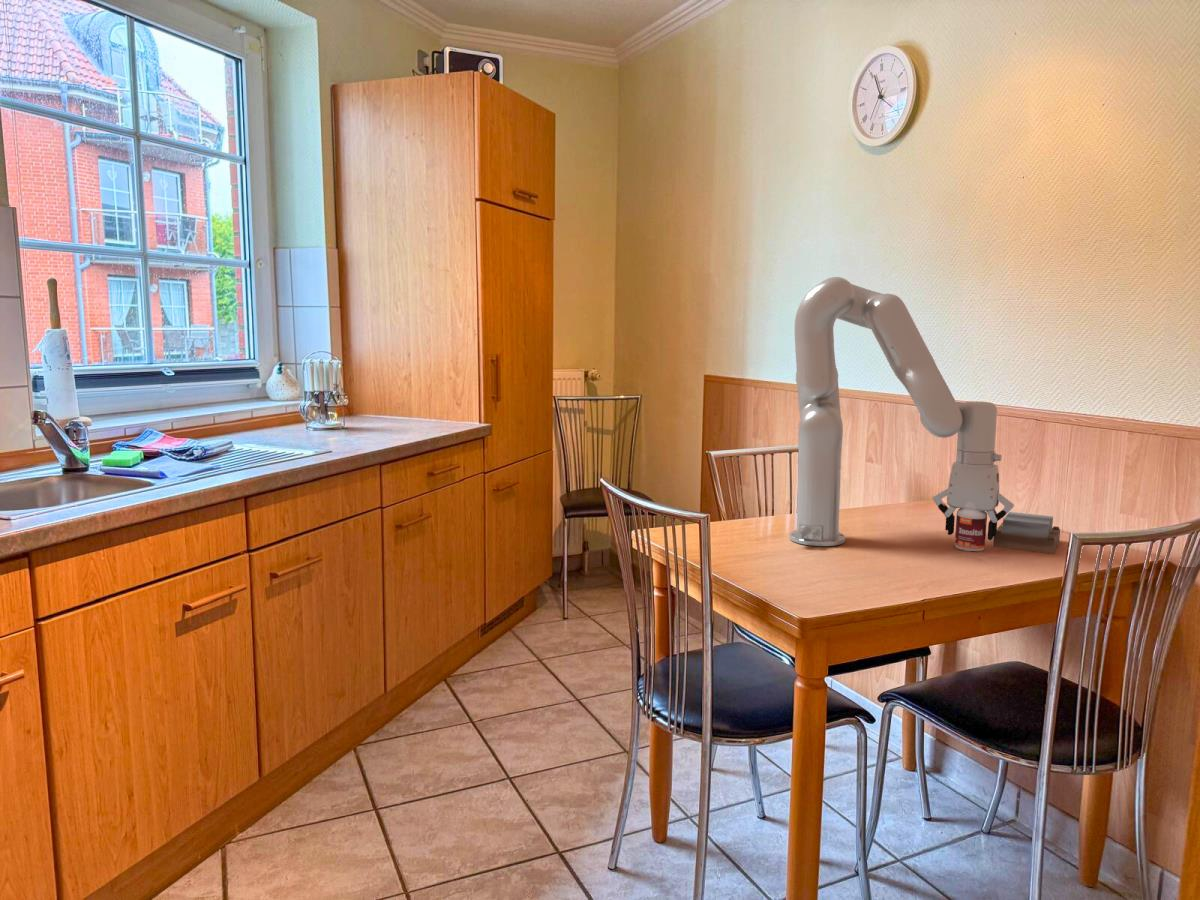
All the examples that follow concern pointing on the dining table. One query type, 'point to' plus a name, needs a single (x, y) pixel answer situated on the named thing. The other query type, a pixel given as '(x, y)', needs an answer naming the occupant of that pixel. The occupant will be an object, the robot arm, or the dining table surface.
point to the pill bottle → (970, 528)
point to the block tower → (1028, 533)
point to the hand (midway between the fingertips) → (970, 535)
